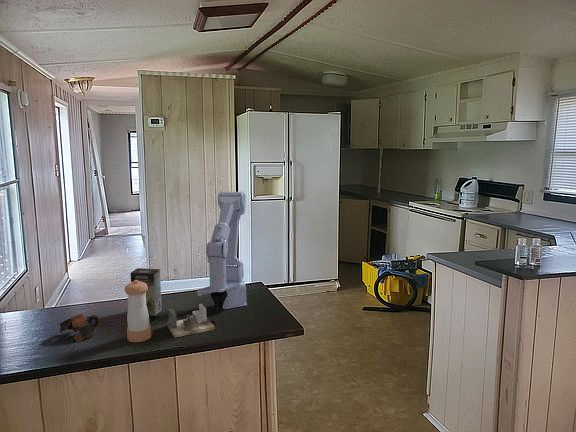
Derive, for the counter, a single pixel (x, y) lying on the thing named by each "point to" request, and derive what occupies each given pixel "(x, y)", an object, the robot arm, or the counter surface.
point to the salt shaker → (137, 312)
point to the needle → (185, 323)
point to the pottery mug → (80, 326)
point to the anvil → (172, 318)
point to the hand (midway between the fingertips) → (219, 311)
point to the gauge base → (190, 328)
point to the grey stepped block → (198, 315)
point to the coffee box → (150, 288)
